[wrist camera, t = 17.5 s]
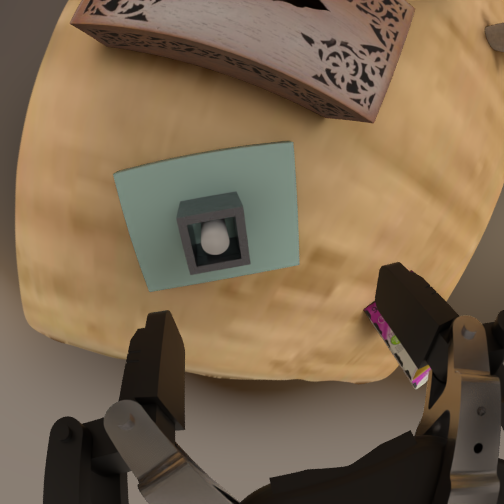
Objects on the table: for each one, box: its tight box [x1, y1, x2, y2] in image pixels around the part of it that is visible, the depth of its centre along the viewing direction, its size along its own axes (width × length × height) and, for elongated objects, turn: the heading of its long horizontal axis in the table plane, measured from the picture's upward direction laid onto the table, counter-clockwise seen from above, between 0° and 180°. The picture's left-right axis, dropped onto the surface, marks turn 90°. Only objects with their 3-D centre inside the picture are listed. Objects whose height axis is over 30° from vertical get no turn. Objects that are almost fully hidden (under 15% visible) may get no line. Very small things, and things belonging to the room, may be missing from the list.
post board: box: [113, 141, 299, 292], centre depth 28 cm, size 19×15×6 cm
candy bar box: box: [364, 271, 431, 389], centre depth 36 cm, size 11×5×16 cm, turn 129°
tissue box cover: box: [70, 0, 415, 123], centre depth 16 cm, size 26×14×10 cm, turn 68°
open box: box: [176, 191, 251, 275], centre depth 27 cm, size 6×6×5 cm
